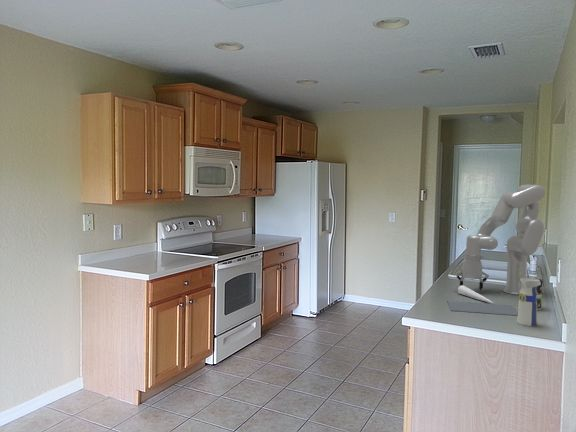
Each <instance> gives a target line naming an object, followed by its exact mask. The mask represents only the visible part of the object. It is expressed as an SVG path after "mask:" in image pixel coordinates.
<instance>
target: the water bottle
mask: <svg viewBox="0 0 576 432" xmlns="http://www.w3.org/2000/svg"><path fill="white" fill-rule="evenodd" d="M518 269H519V272H520V273H521V271H522V269H521V266H520V268H518ZM519 272H518V273H519ZM535 278H536V277H531V278H520V282H521V290H520V295H518V299H520V300H519V305H517V312H518V316H516V317H517V319H516V322H517V324H519V325H522V326H528V327H530V326H531V327H535V326H537V325H538V321H537V320H538V310H537V302H536V295H537V294H538V293H537V292H536V287H537V286H539V285H541V283H540V281H539V280H538V279H539V278H538V279H535ZM520 282H519V285H520Z"/></svg>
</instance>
